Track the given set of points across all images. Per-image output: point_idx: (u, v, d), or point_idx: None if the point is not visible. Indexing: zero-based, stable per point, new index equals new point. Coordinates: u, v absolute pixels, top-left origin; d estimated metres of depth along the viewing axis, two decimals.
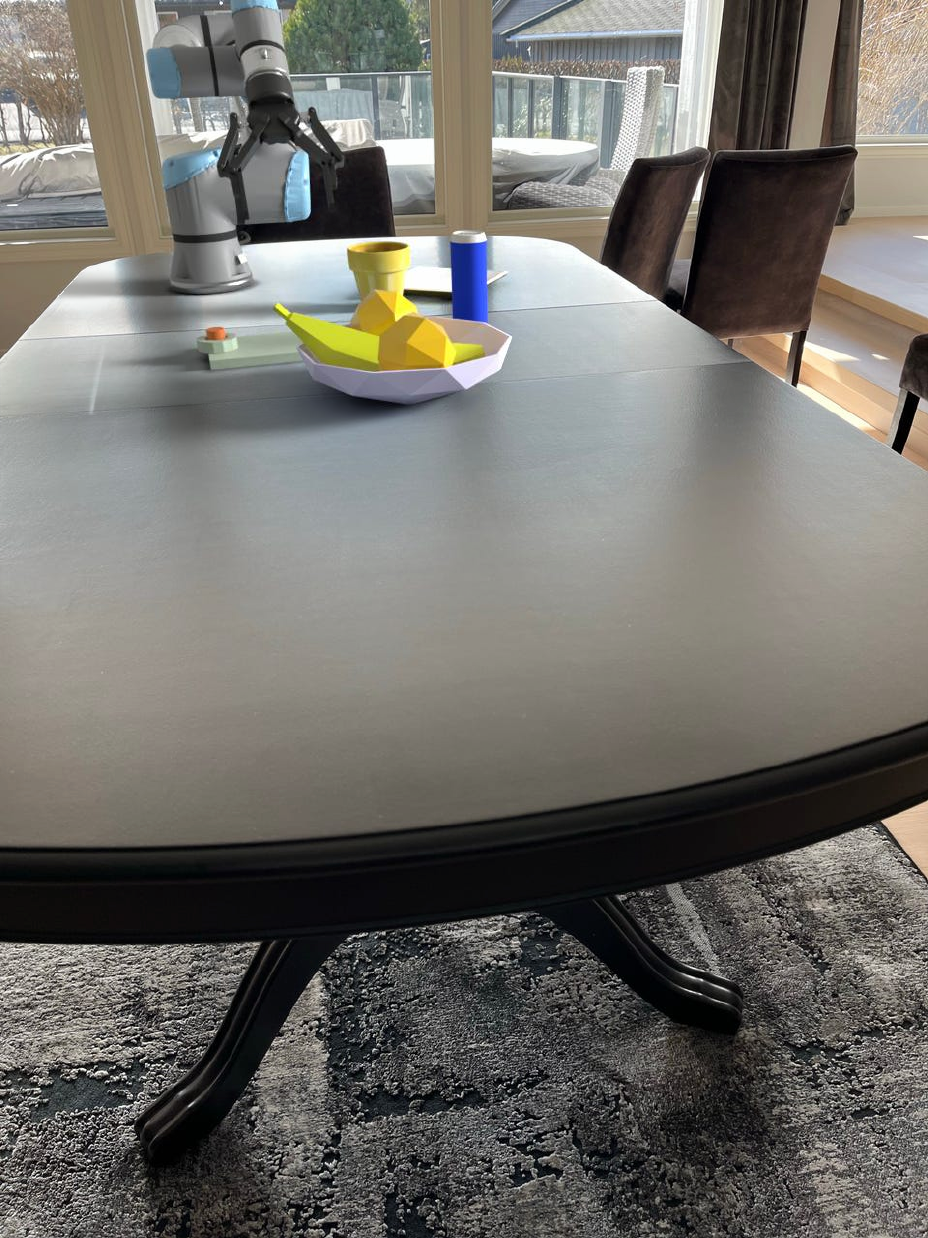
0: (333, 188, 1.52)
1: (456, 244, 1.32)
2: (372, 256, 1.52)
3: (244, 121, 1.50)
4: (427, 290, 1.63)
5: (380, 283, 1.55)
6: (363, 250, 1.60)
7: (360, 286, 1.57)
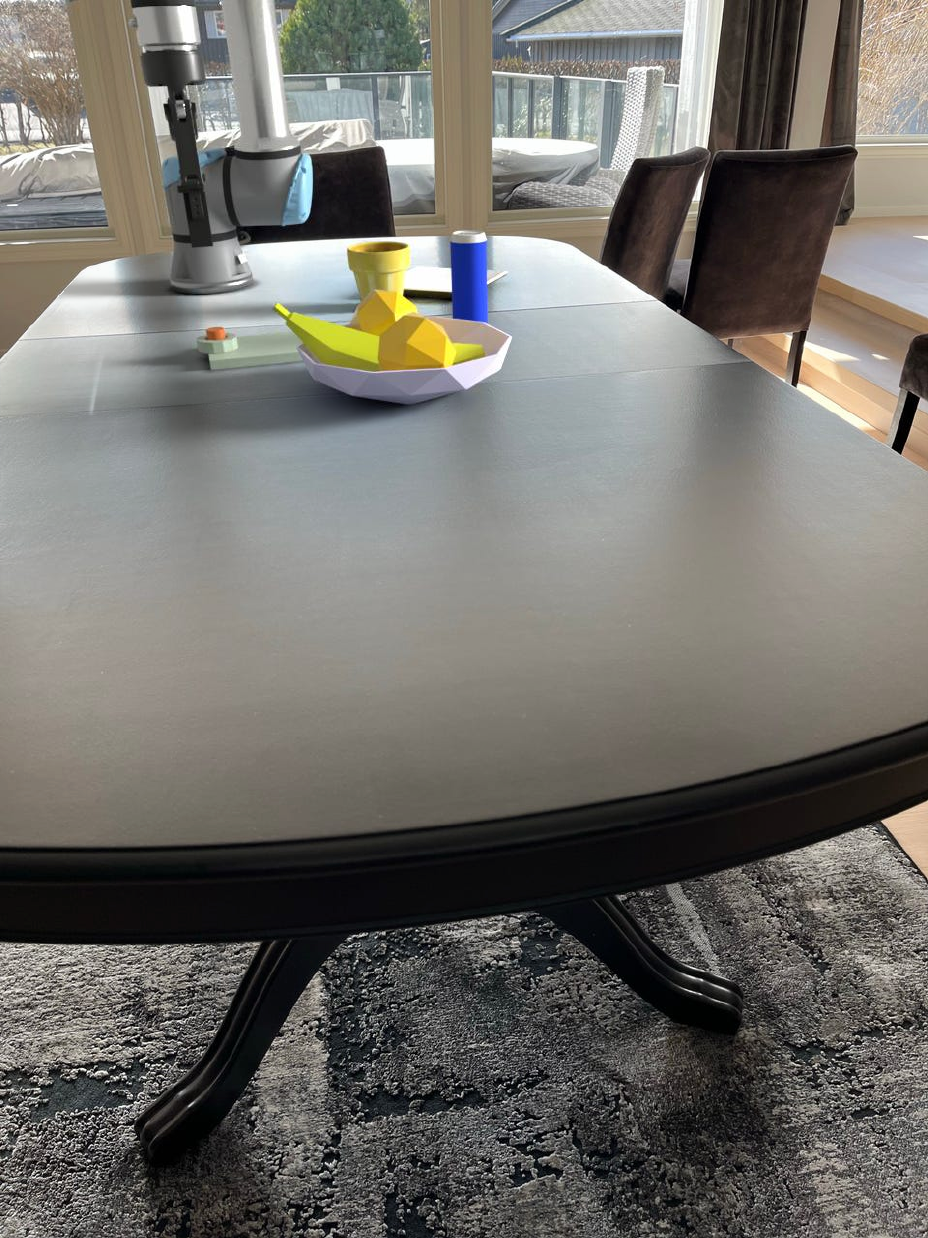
0: None
1: (456, 244, 1.32)
2: (372, 256, 1.52)
3: None
4: (427, 290, 1.63)
5: (380, 283, 1.55)
6: (363, 250, 1.60)
7: (360, 286, 1.57)
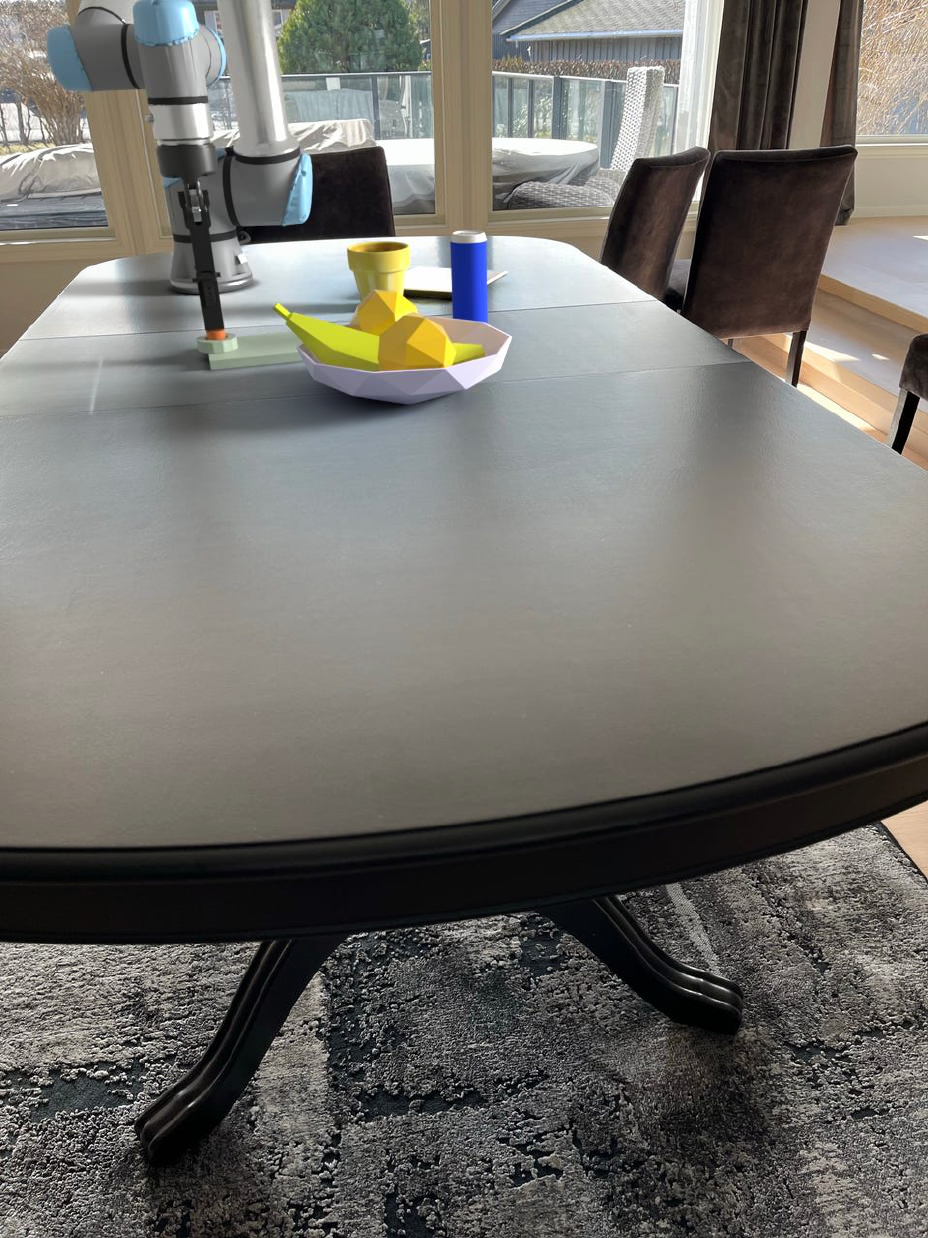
0: None
1: (456, 244, 1.32)
2: (372, 256, 1.52)
3: None
4: (427, 290, 1.63)
5: (380, 283, 1.55)
6: (363, 250, 1.60)
7: (360, 286, 1.57)
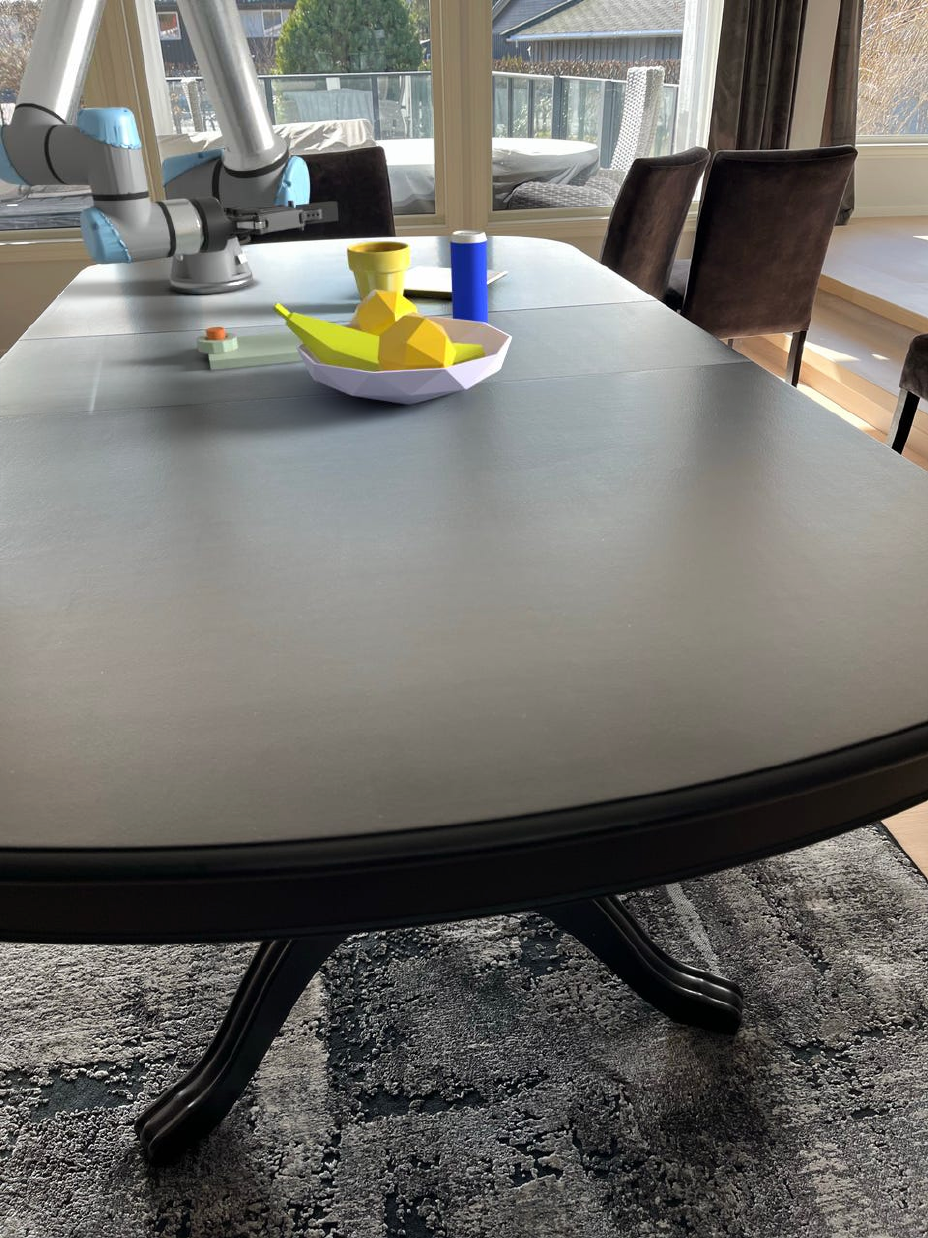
0: None
1: (456, 244, 1.32)
2: (372, 256, 1.52)
3: None
4: (427, 290, 1.63)
5: (380, 283, 1.55)
6: (363, 250, 1.60)
7: (360, 286, 1.57)
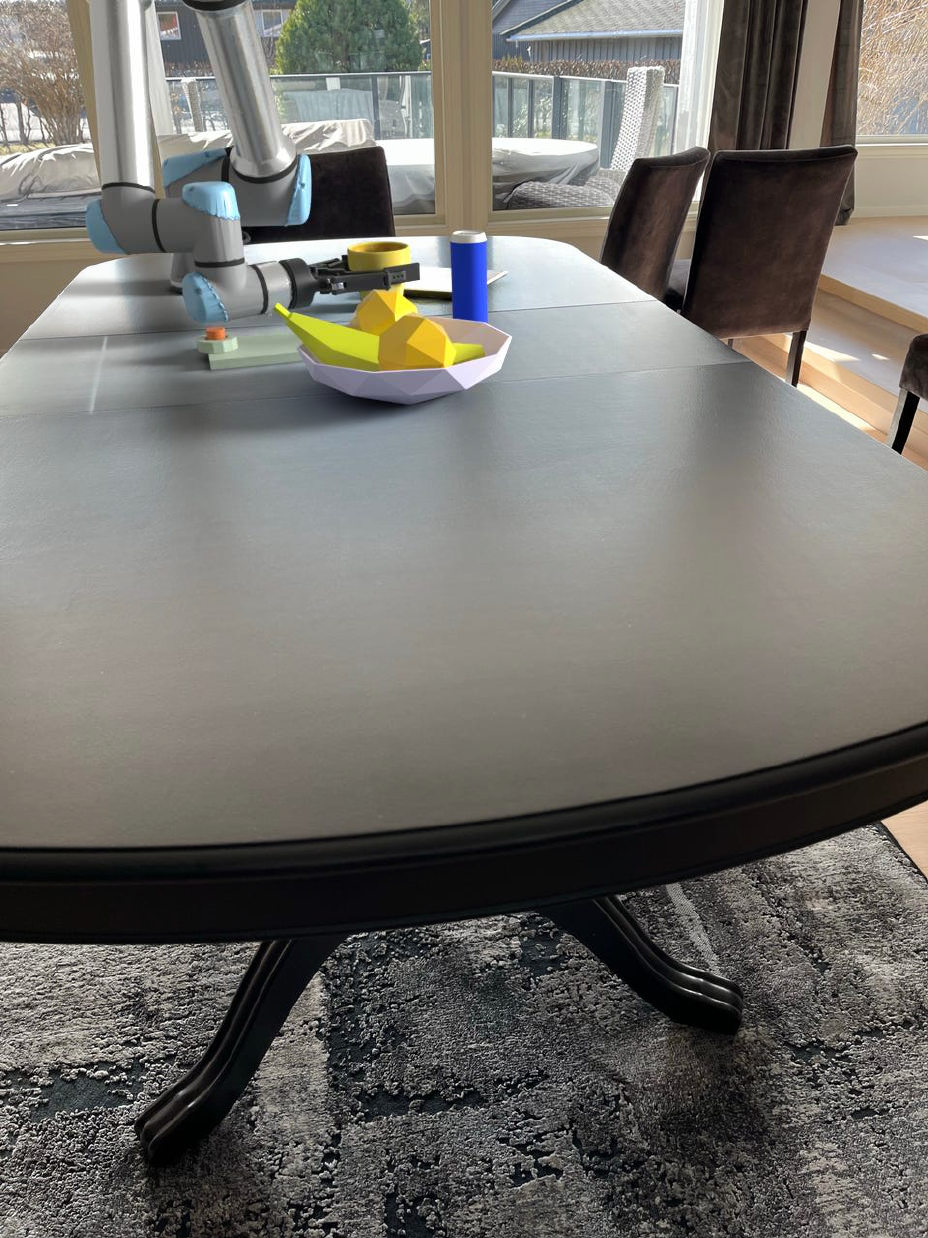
0: None
1: (456, 244, 1.32)
2: (372, 256, 1.52)
3: None
4: (427, 290, 1.63)
5: None
6: (363, 250, 1.60)
7: None
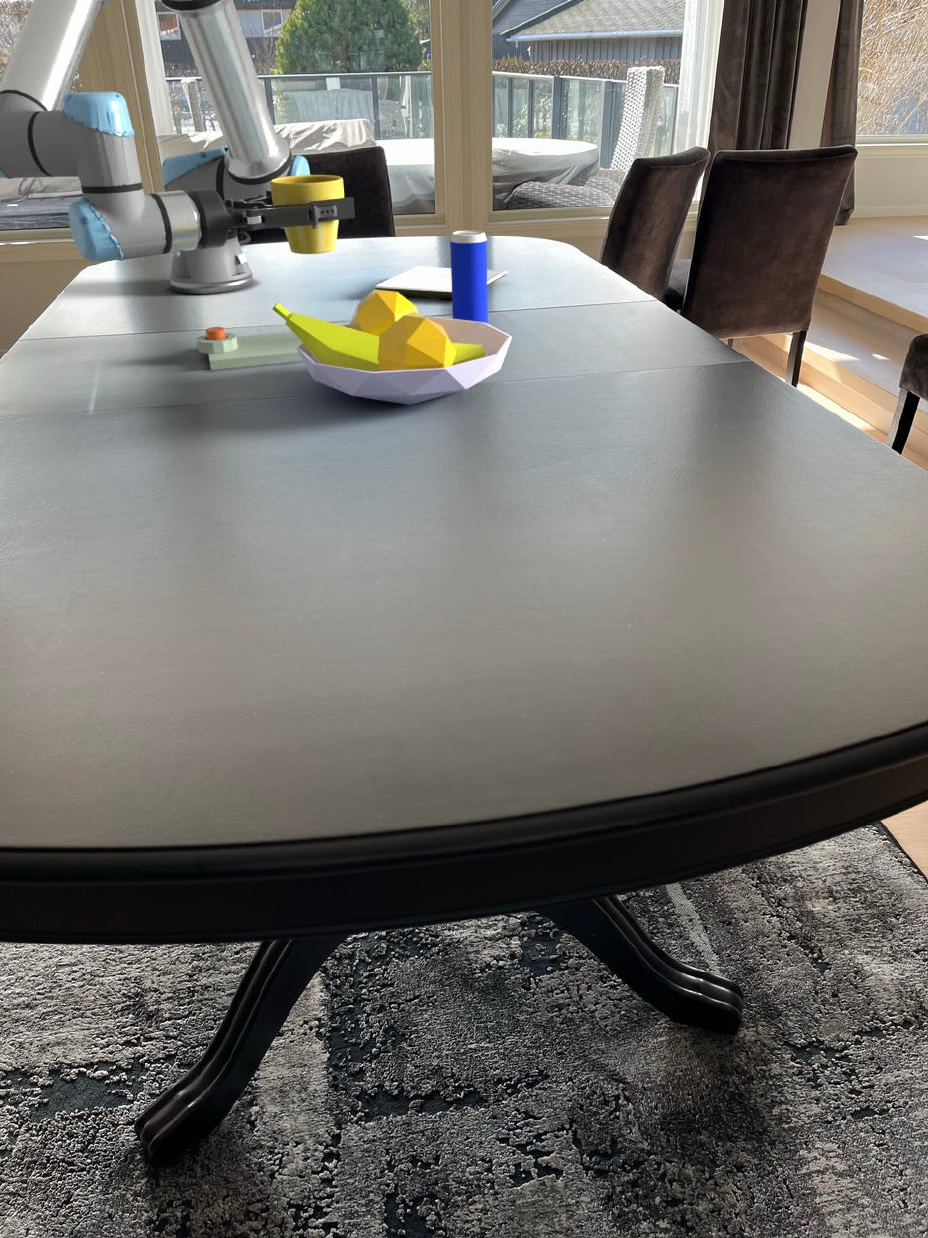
0: None
1: (456, 244, 1.32)
2: (297, 188, 1.31)
3: None
4: (427, 290, 1.63)
5: None
6: None
7: None
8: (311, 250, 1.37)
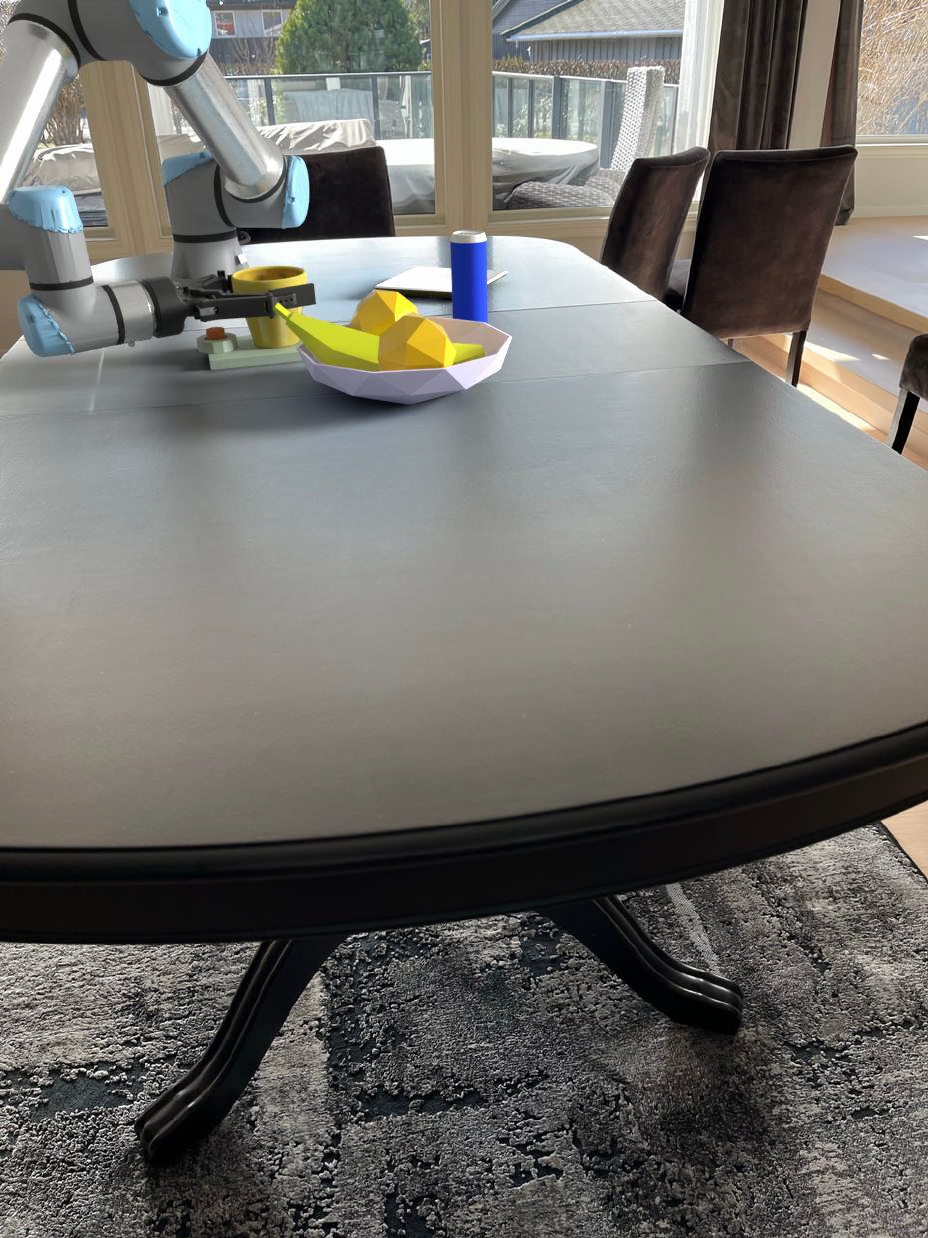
0: None
1: (456, 244, 1.32)
2: (258, 285, 1.28)
3: None
4: (427, 290, 1.63)
5: None
6: (254, 276, 1.35)
7: (248, 319, 1.33)
8: (274, 345, 1.34)
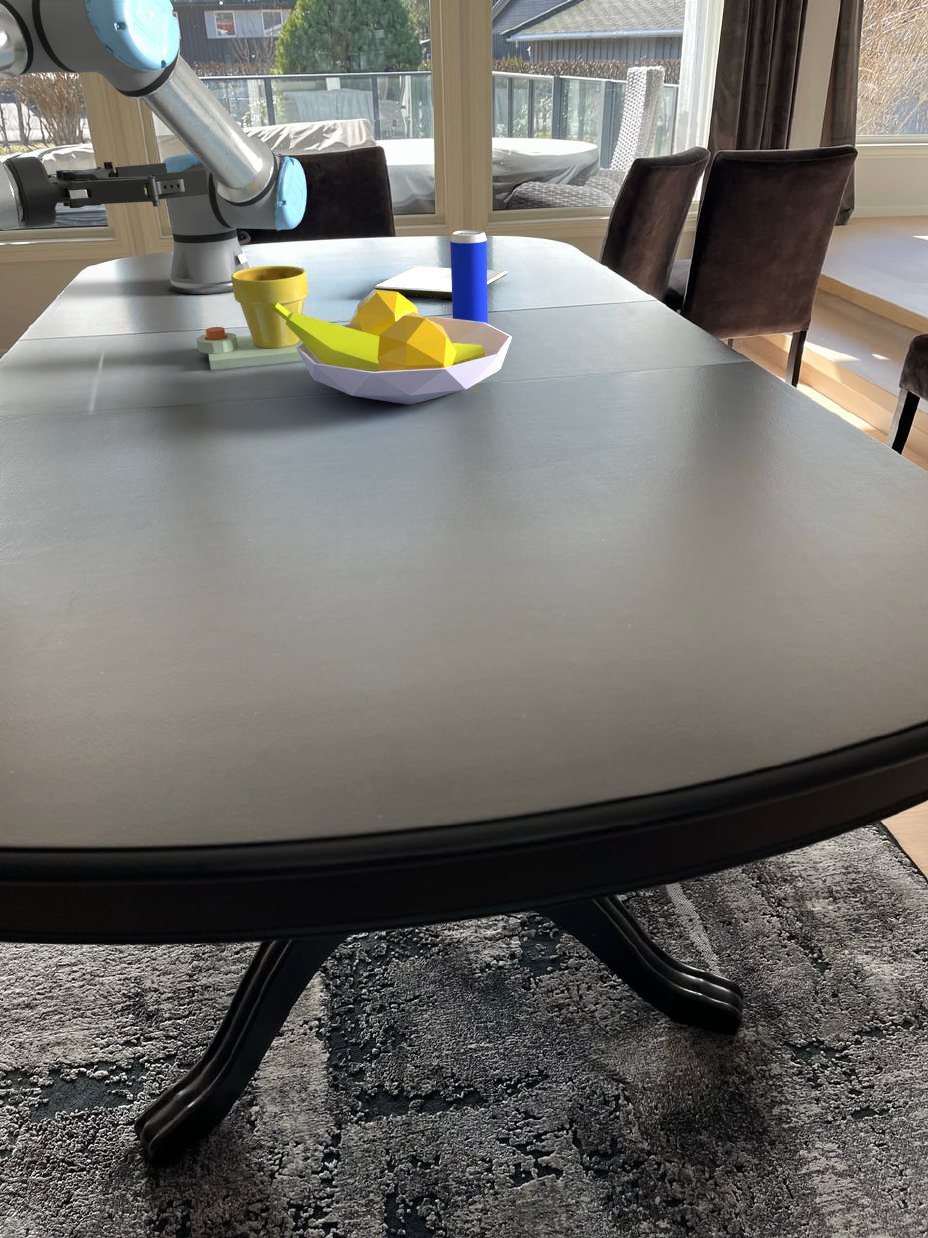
0: None
1: (456, 244, 1.32)
2: (258, 285, 1.28)
3: None
4: (427, 290, 1.63)
5: (270, 316, 1.31)
6: (254, 276, 1.35)
7: (248, 319, 1.33)
8: (274, 345, 1.34)
